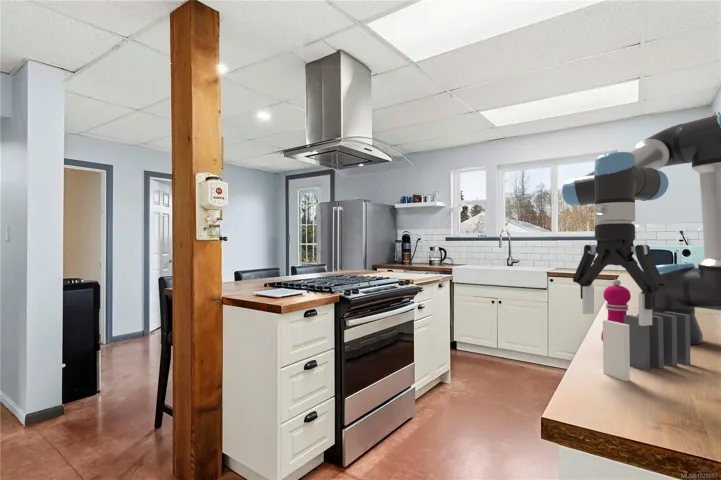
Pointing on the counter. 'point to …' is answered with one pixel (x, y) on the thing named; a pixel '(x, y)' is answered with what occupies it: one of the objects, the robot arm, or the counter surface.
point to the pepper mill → (616, 302)
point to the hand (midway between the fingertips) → (614, 319)
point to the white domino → (616, 350)
